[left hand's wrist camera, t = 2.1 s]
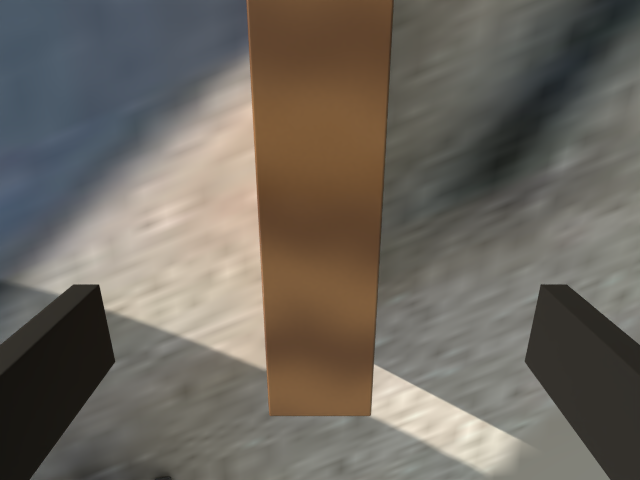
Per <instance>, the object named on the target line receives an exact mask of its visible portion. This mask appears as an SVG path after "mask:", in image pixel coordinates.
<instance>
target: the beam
mask: <svg viewBox="0 0 640 480" xmlns="http://www.w3.org/2000/svg"><path fill="white" fill-rule="evenodd" d="M393 7H394V0H247V18H248V36H249V55H250V73H251V91H252V109H253V128H254V146H255V164H256V183H257V201H258V219H259V237H260V256H261V274H262V292H263V310H264V329H265V347H266V365H267V384H268V402H269V415H270V416H370V415H371V405H372V387H373V369H374V351H375V333H376V315H377V296H378V278H379V260H380V242H381V224H382V206H383V188H384V170H385V152H386V133H387V115H388V97H389V79H390V61H391V43H392V25H393Z"/></svg>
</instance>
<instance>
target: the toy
mask: <svg viewBox="0 0 640 480" xmlns="http://www.w3.org/2000/svg"><path fill="white" fill-rule="evenodd" d="M155 480H171V478H170V477H165V478H157V479H155Z"/></svg>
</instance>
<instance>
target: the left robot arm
mask: <svg viewBox="0 0 640 480" xmlns="http://www.w3.org/2000/svg"><path fill="white" fill-rule="evenodd" d="M114 363H115V358H114V353H113V349H112V344H111V339H110V334H109V329H108V325H107V320H106V315H105V310H104V306H103V301H102V296H101V291H100V286H99V285H72V286H71V287H70V288H69V289H67V290H66V291H65V292H64V293H63V294H61V295H60V296H59V297H58V298H57V299H55V300H54V301H53V302H52V303H51V304H49V305H48V306H47V307H46V308H44V309H43V310H42V311H41V312H40V313H38V314H37V315H36V316H35V317H34V318H32V319H31V320H30V321H29V322H28V323H26V324H25V325H24V326H23V327H22V328H20V329H19V330H18V331H17V332H16V333H14V334H13V335H12V336H11V337H10V338H8V339H7V340H6V341H5V342H3V343H2V344H1V345H0V480H30V478H31V477H32V476H33V474H34V473H35V471H36V470H37V469H38V467H39V466H40V465H41V463H42V462H43V460H44V459H45V458H46V456H47V455H48V454H49V452H50V451H51V449H52V448H53V447H54V445H55V444H56V443H57V441H58V440H59V438H60V437H61V436H62V434H63V433H64V432H65V430H66V429H67V427H68V426H69V425H70V423H71V422H72V420H73V419H74V418H75V416H76V415H77V414H78V412H79V411H80V409H81V408H82V407H83V405H84V404H85V403H86V401H87V400H88V398H89V397H90V396H91V394H92V393H93V392H94V390H95V389H96V387H97V386H98V385H99V383H100V382H101V381H102V379H103V378H104V376H105V375H106V374H107V372H108V371H109V370H110V368H111V367H112V365H113V364H114ZM525 363H526V364H527V365H528V367H529V368H530V370H531V371H532V372H533V374H534V375H535V376H536V378H537V379H538V381H539V382H540V383H541V385H542V386H543V387H544V389H545V390H546V392H547V393H548V394H549V396H550V397H551V398H552V400H553V401H554V403H555V404H556V405H557V407H558V408H559V409H560V411H561V412H562V414H563V415H564V416H565V418H566V419H567V420H568V422H569V423H570V425H571V426H572V427H573V429H574V430H575V431H576V433H577V434H578V436H579V437H580V438H581V440H582V441H583V442H584V444H585V445H586V447H587V448H588V449H589V451H590V452H591V453H592V455H593V456H594V458H595V459H596V460H597V462H598V463H599V464H600V466H601V467H602V469H603V470H604V471H605V473H606V474H607V476H608V477H609V478H610V480H640V345H639V344H638V343H637V342H635V341H634V340H633V339H632V338H630V337H629V336H628V335H627V334H626V333H624V332H623V331H622V330H621V329H620V328H618V327H617V326H616V325H615V324H614V323H612V322H611V321H610V320H609V319H608V318H606V317H605V316H604V315H603V314H602V313H600V312H599V311H598V310H597V309H596V308H594V307H593V306H592V305H591V304H589V303H588V302H587V301H586V300H585V299H583V298H582V297H581V296H580V295H579V294H577V293H576V292H575V291H574V290H573V289H571V288H570V287H569V286H568V285H541V286H540V291H539V296H538V301H537V306H536V310H535V315H534V320H533V325H532V329H531V334H530V339H529V344H528V349H527V353H526V358H525Z"/></svg>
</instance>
